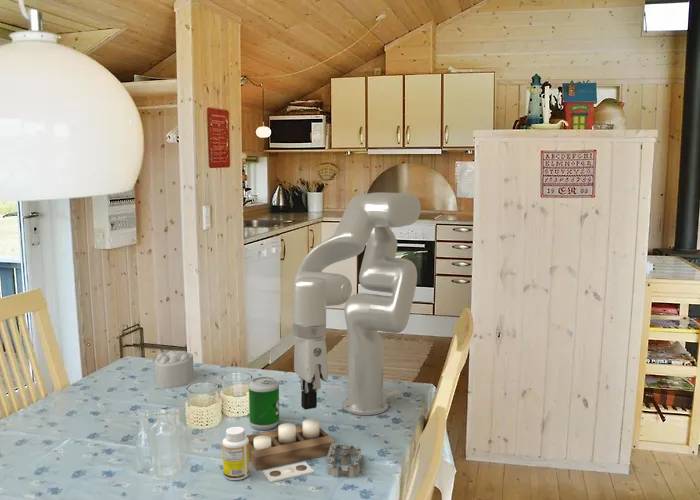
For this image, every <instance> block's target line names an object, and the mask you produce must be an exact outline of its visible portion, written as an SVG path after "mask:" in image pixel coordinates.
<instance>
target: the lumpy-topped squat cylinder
mask: <svg viewBox="0 0 700 500" xmlns="http://www.w3.org/2000/svg"><path fill="white" fill-rule="evenodd" d="M154 371H155V372H154V374H155V375H154V376H155V378H154V379H155V385H156V387H158V388H160V389H174V388H175V389H176V388H180V387H182V386H186V385H188V384H189V383H191V382H192V380H193V379H194V378H195V375H194V374H195V373H194V372H195V371H194V354H193V353H190V352H188V351H185V350H170V351H168V352H166V353H164V352H160V353H159V354H158V355H157V356H156V358H155V360H154Z"/></svg>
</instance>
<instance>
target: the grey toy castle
mask: <svg viewBox="0 0 700 500" xmlns="http://www.w3.org/2000/svg"><path fill="white" fill-rule="evenodd" d="M362 456H363V452H362V447H361V446H360V445H357V447H355V446H354V445H353V444H343V443H340V444H339V443H336V442H335V443H333V442H332V443H331V446H330V449H329V451H328V455H327V456H326V458H325V462H326V464H327V473H328V474H327V475H328V476H331V477H333V478H338V479H339V477H341V476H345V477H346V476H347V477H348V478H349V479H354V478H355V477H357V476H360V472H361V461H362V460H361V458H362ZM337 457H339V458H340V459H339V464H340V466H337V467H335V464H336V462H337V461H336V460H337V459H336V458H337ZM352 457H353V458H354V461H353V462H354V463H352V464H351V461H352V459H351V458H352Z"/></svg>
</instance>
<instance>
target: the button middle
mask: <svg viewBox="0 0 700 500" xmlns="http://www.w3.org/2000/svg"><path fill="white" fill-rule="evenodd" d="M296 426H297V425H296V424H294V423H290V422H287V423H286V422H285V423H281V424H279V425H278V427H277V428H278V429H277V430H278V438H279V443H280V444H283V445H285V444H290V443H295V442H296Z"/></svg>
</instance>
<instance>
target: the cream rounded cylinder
mask: <svg viewBox="0 0 700 500" xmlns="http://www.w3.org/2000/svg"><path fill="white" fill-rule="evenodd" d="M270 447H271V437H269V436H257V437H255V438H254V449H255V450H260V449H265V448H270Z"/></svg>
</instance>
